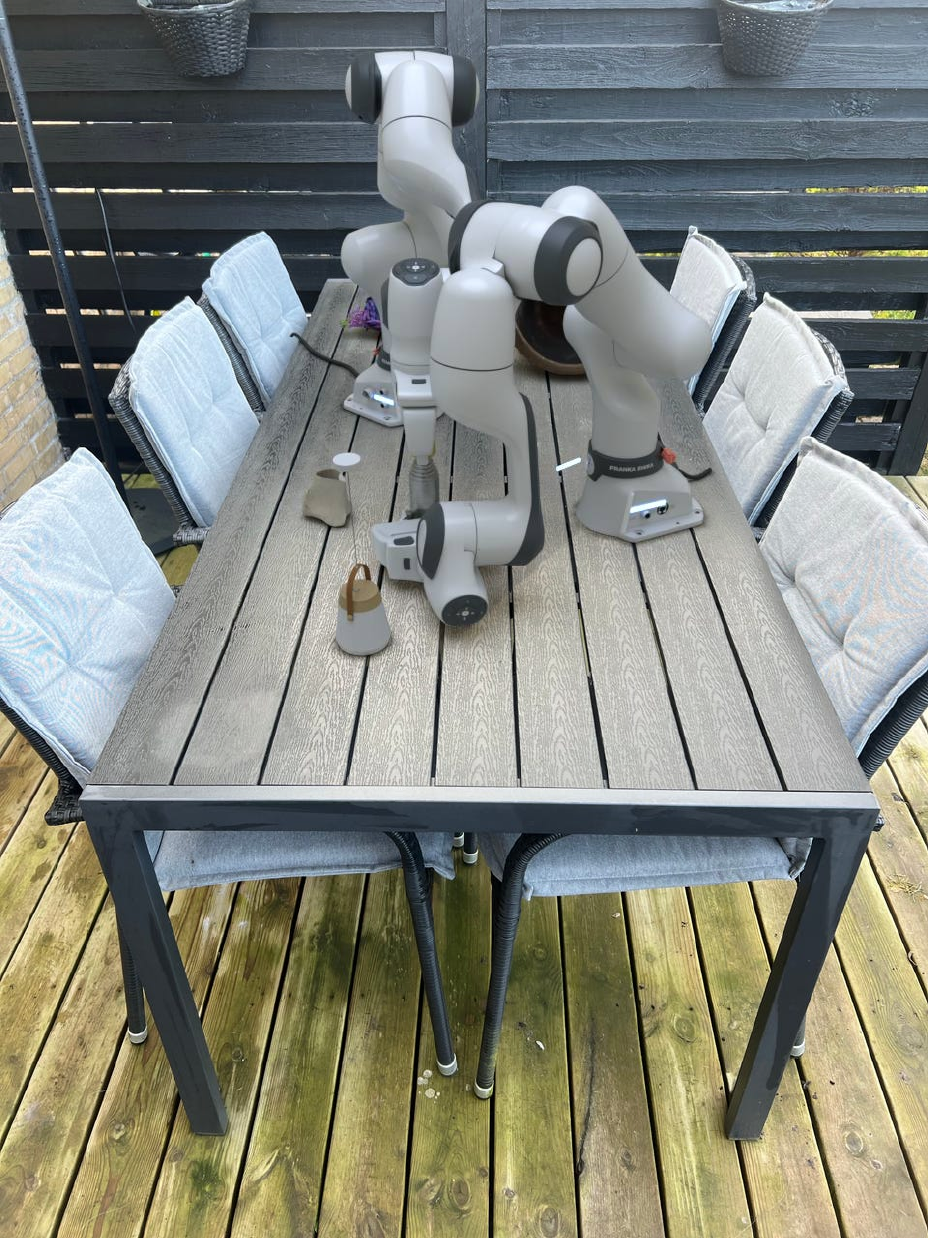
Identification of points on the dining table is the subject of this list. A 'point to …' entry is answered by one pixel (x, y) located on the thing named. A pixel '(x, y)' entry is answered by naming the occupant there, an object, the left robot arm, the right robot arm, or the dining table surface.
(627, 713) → the dining table surface
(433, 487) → the bottle
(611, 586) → the dining table surface
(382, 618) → the pendant light
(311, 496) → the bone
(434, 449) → the cap
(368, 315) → the decorative ornament
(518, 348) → the pot
